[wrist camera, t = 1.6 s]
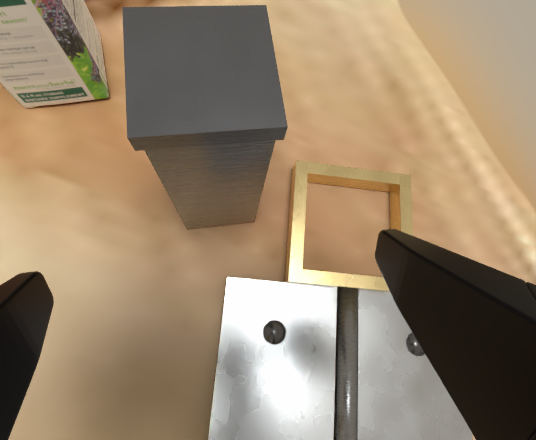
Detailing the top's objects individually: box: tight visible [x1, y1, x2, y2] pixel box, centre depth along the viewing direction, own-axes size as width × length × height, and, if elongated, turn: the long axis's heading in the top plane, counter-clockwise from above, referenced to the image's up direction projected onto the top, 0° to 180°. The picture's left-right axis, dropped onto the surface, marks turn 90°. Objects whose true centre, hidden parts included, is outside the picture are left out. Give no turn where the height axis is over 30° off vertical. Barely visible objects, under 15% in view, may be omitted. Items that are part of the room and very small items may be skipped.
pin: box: [123, 5, 288, 229], centre depth 16 cm, size 5×5×12 cm
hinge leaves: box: [208, 161, 472, 440], centre depth 20 cm, size 21×15×2 cm
